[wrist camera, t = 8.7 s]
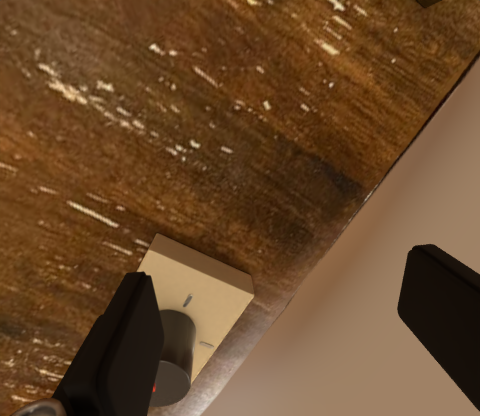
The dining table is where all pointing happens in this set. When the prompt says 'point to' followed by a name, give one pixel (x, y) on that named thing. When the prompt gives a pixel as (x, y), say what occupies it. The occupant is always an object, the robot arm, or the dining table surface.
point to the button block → (427, 2)
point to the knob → (174, 359)
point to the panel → (197, 292)
